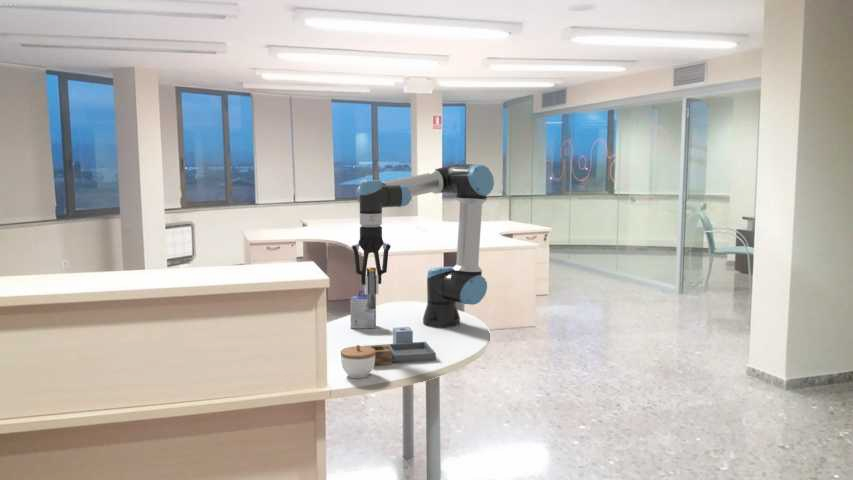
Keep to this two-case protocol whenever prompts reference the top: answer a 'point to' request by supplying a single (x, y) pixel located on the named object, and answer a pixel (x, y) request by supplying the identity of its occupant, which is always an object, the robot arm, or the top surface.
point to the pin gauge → (371, 288)
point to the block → (402, 335)
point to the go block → (382, 354)
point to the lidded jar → (358, 360)
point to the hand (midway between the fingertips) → (371, 293)
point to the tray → (411, 352)
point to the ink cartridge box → (361, 312)
